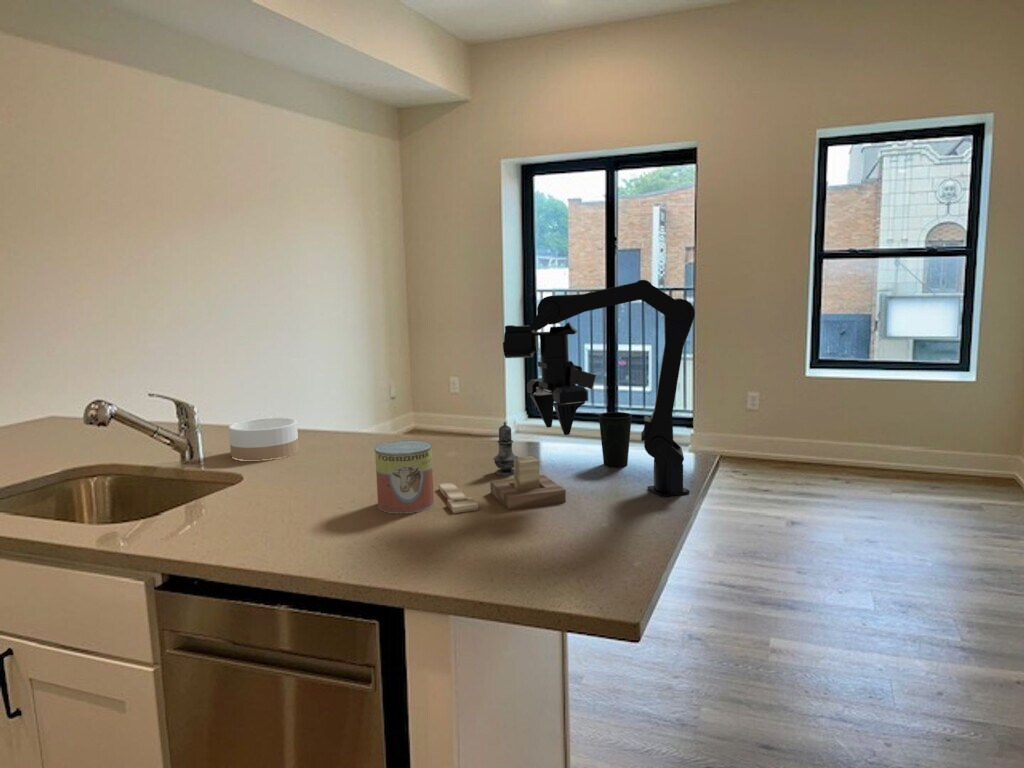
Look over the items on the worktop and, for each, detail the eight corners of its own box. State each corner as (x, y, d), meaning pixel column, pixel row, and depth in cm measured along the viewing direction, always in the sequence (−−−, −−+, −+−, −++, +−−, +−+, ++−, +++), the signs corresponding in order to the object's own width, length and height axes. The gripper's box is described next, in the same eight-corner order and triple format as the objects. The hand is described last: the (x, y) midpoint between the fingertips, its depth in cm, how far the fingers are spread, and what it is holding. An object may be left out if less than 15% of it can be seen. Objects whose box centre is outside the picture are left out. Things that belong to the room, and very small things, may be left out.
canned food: (380, 516, 138) (377, 455, 137) (375, 500, 149) (372, 443, 147) (438, 510, 141) (436, 450, 140) (429, 494, 152) (427, 438, 150)
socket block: (565, 501, 144) (565, 489, 144) (508, 509, 140) (508, 496, 140) (544, 486, 155) (543, 474, 155) (490, 492, 152) (490, 481, 151)
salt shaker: (516, 476, 164) (514, 424, 162) (490, 475, 165) (489, 424, 163) (521, 469, 170) (519, 419, 168) (496, 469, 171) (495, 419, 169)
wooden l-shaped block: (478, 509, 141) (478, 504, 140) (453, 513, 139) (453, 507, 139) (456, 487, 157) (456, 481, 156) (434, 489, 155) (434, 484, 155)
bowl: (216, 460, 188) (213, 429, 186) (257, 445, 204) (255, 416, 203) (273, 463, 183) (271, 431, 181) (311, 448, 199) (309, 418, 198)
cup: (631, 460, 175) (630, 411, 173) (633, 468, 167) (632, 417, 166) (598, 460, 176) (598, 412, 174) (599, 468, 168) (599, 418, 167)
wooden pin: (539, 499, 147) (538, 460, 145) (521, 501, 145) (520, 462, 144) (533, 493, 150) (532, 456, 149) (514, 496, 149) (513, 458, 148)
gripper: (610, 357, 143) (613, 434, 145) (571, 350, 161) (573, 419, 163) (559, 361, 139) (562, 441, 142) (524, 354, 157) (527, 425, 159)
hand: (557, 430), depth 151 cm, fingers open, 9 cm apart
